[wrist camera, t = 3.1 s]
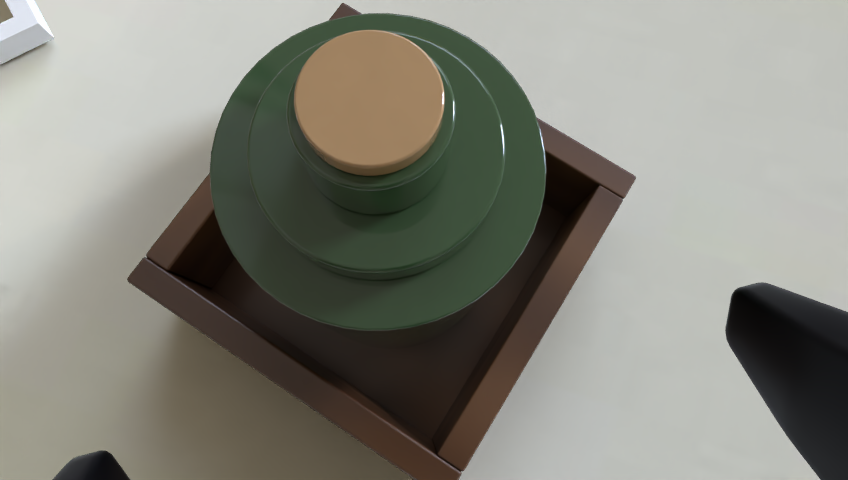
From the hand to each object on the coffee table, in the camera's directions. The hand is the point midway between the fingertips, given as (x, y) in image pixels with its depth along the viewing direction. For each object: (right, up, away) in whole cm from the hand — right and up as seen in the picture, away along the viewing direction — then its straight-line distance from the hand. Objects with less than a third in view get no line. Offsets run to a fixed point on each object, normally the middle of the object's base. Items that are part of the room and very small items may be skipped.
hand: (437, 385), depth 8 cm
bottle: (-1, +2, +11) cm, 11 cm away
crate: (-1, +2, +12) cm, 12 cm away
